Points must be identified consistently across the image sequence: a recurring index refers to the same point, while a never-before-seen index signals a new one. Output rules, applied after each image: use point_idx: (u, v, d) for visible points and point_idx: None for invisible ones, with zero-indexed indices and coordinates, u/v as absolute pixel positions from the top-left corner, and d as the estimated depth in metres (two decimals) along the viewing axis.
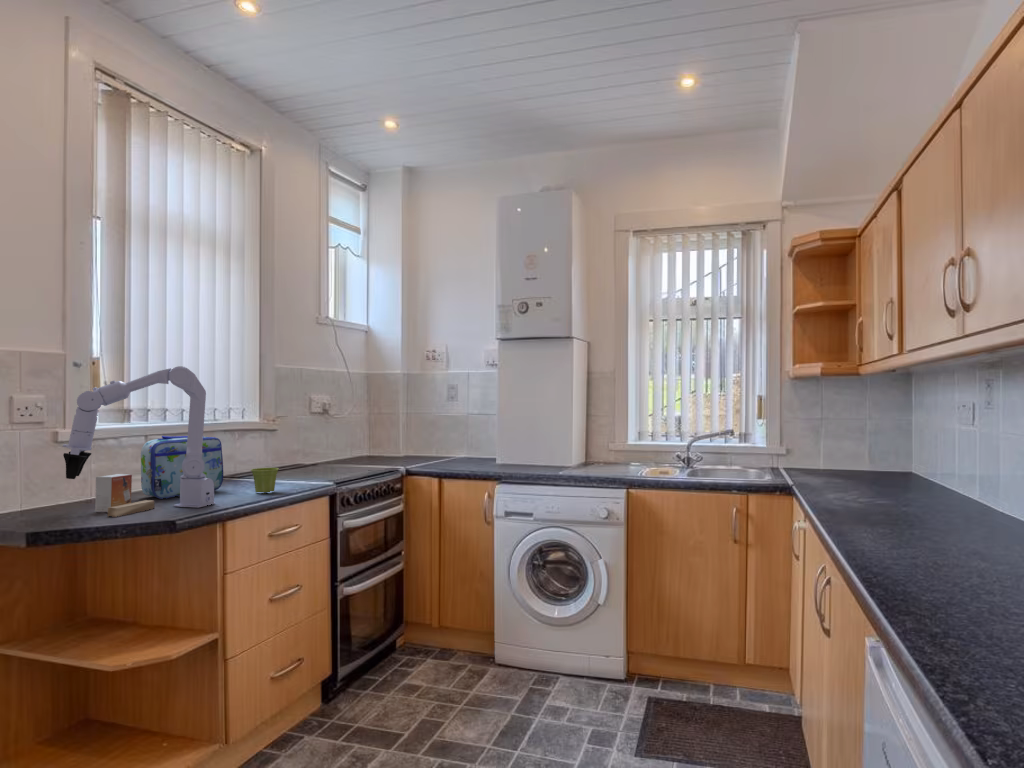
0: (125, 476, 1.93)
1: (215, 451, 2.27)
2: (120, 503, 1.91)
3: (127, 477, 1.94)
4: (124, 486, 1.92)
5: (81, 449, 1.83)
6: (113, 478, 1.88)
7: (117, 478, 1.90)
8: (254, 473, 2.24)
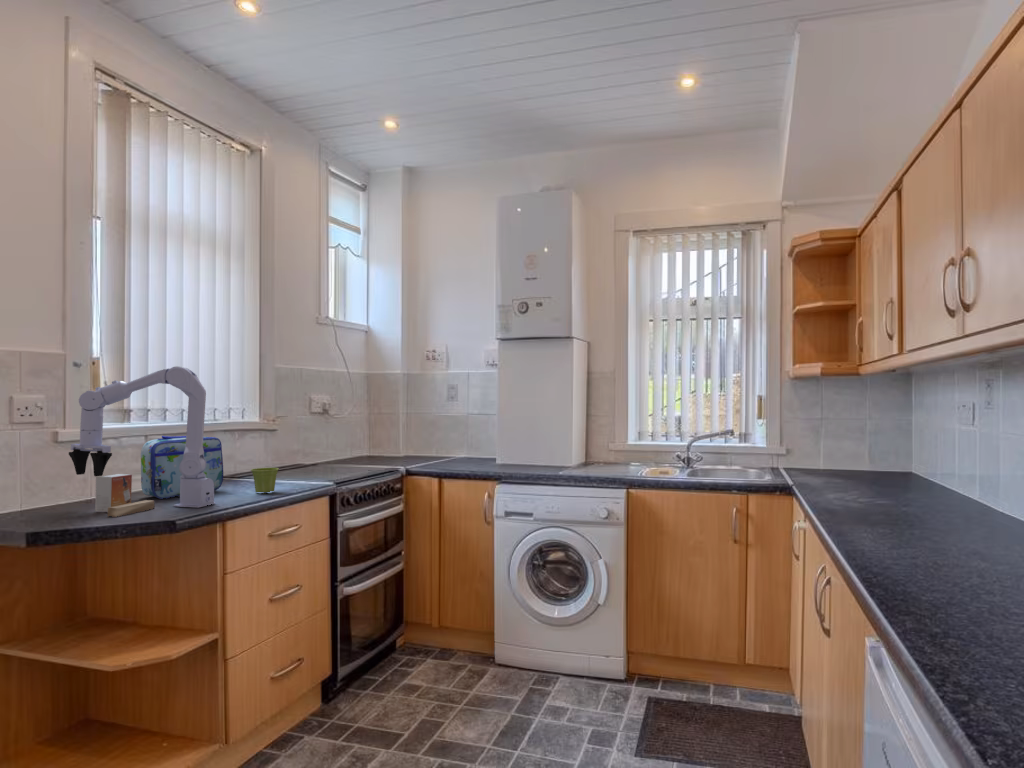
0: (125, 476, 1.93)
1: (215, 451, 2.27)
2: (120, 503, 1.91)
3: (127, 477, 1.94)
4: (124, 486, 1.92)
5: None
6: (113, 478, 1.88)
7: (117, 478, 1.90)
8: (254, 473, 2.24)
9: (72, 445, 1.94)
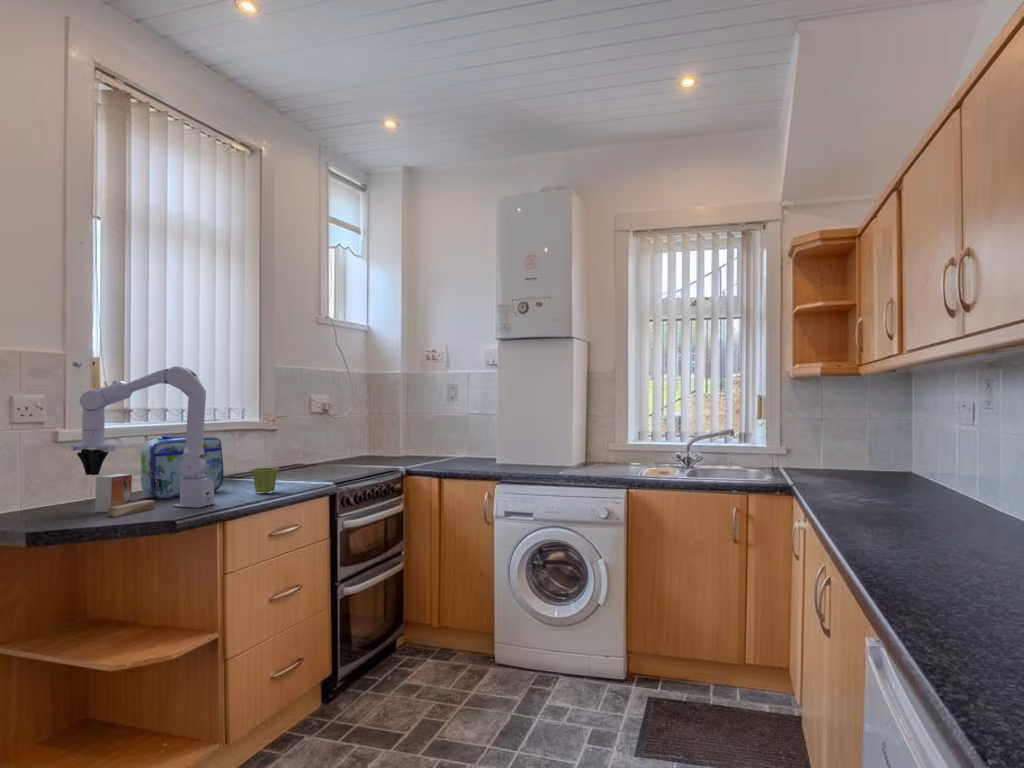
0: (125, 476, 1.93)
1: (215, 451, 2.27)
2: (120, 503, 1.91)
3: (127, 477, 1.94)
4: (124, 486, 1.92)
5: None
6: (113, 478, 1.88)
7: (117, 478, 1.90)
8: (254, 473, 2.24)
9: (72, 445, 1.94)
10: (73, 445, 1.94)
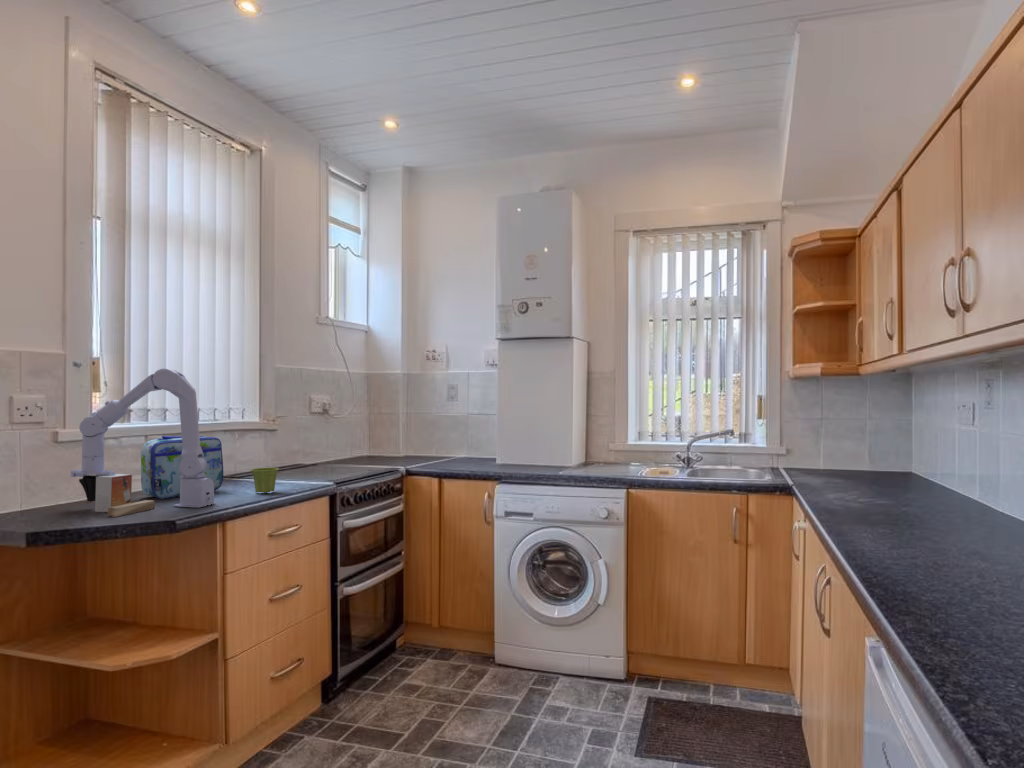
0: (125, 476, 1.93)
1: (215, 451, 2.27)
2: (120, 503, 1.91)
3: (127, 477, 1.94)
4: (124, 486, 1.92)
5: None
6: (113, 478, 1.88)
7: (117, 478, 1.90)
8: (254, 473, 2.24)
9: (72, 471, 1.94)
10: (73, 471, 1.94)
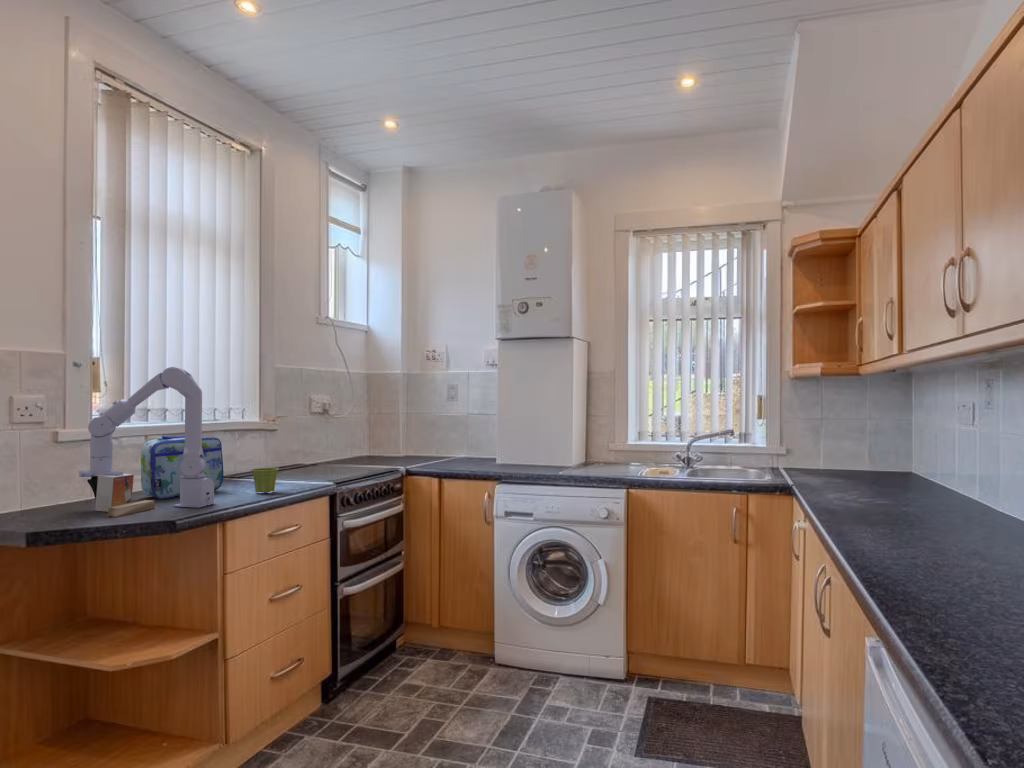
0: (127, 476, 1.93)
1: (215, 451, 2.27)
2: (120, 503, 1.91)
3: (129, 477, 1.93)
4: (126, 486, 1.92)
5: None
6: (115, 478, 1.88)
7: (119, 478, 1.90)
8: (254, 473, 2.24)
9: (80, 472, 1.94)
10: (81, 472, 1.93)
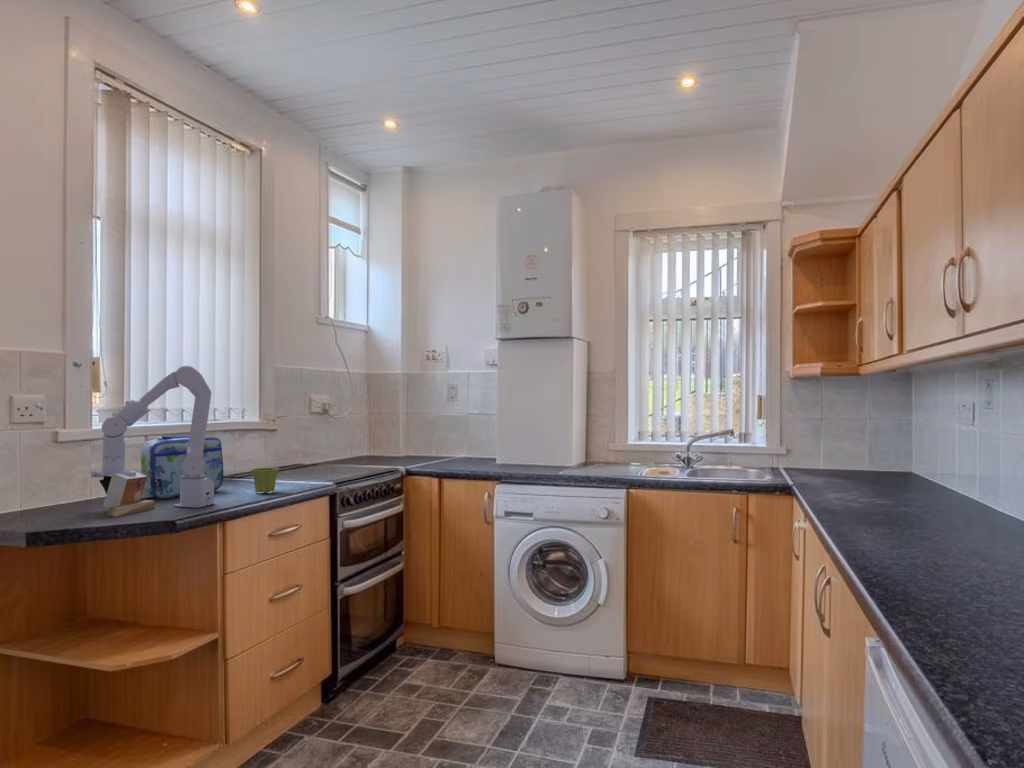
0: (140, 478, 1.92)
1: (215, 451, 2.27)
2: None
3: (142, 479, 1.92)
4: (137, 487, 1.91)
5: None
6: (128, 480, 1.87)
7: (132, 480, 1.89)
8: (254, 473, 2.24)
9: (92, 472, 1.92)
10: (93, 472, 1.92)
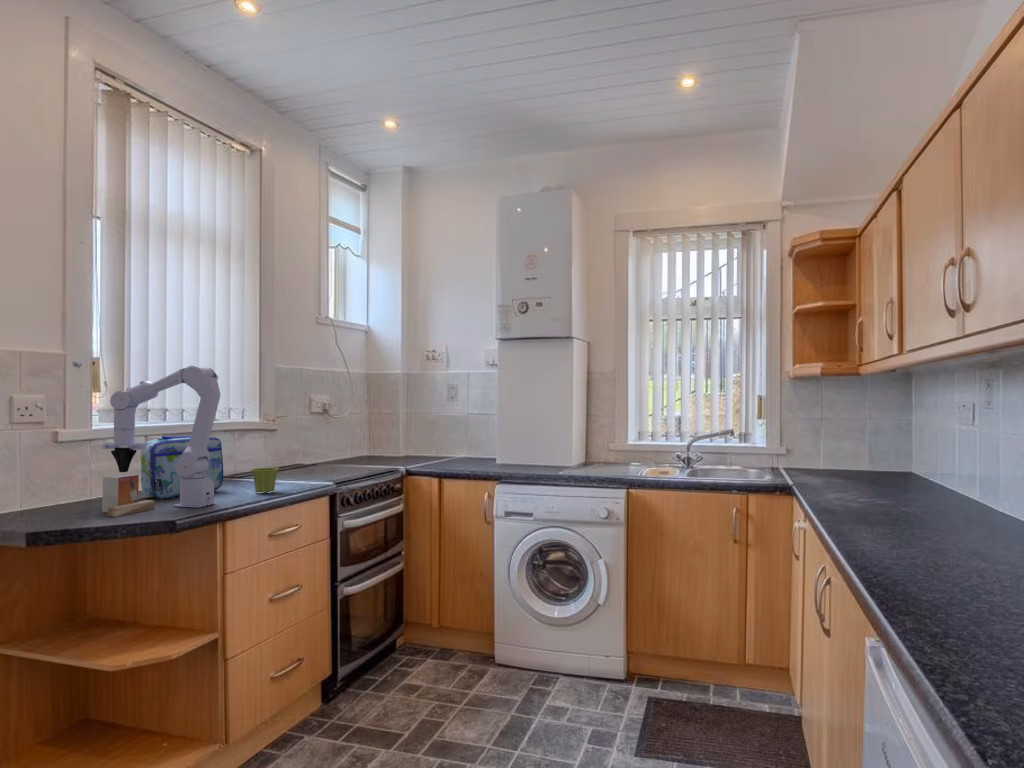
0: (132, 476, 1.92)
1: (215, 451, 2.27)
2: (127, 503, 1.90)
3: (134, 477, 1.93)
4: (131, 486, 1.92)
5: None
6: (120, 478, 1.88)
7: (124, 478, 1.89)
8: (254, 473, 2.24)
9: (104, 444, 2.02)
10: (105, 443, 2.02)
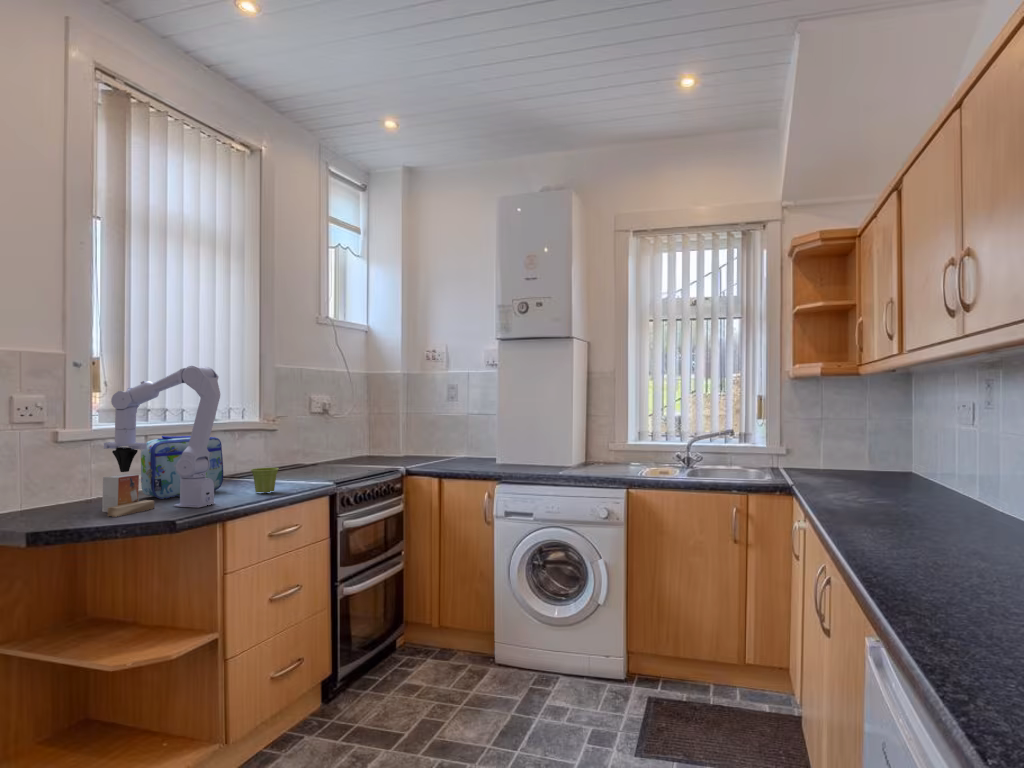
0: (132, 476, 1.92)
1: (215, 451, 2.27)
2: (127, 503, 1.90)
3: (134, 477, 1.93)
4: (131, 486, 1.92)
5: None
6: (120, 478, 1.88)
7: (124, 478, 1.89)
8: (254, 473, 2.24)
9: (105, 443, 2.02)
10: (106, 443, 2.02)
